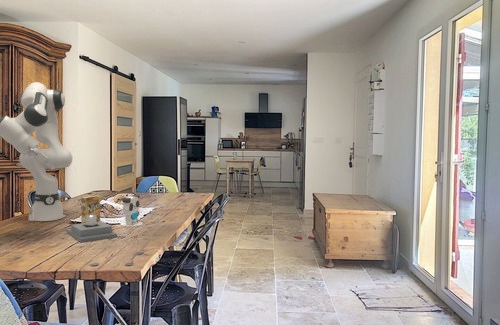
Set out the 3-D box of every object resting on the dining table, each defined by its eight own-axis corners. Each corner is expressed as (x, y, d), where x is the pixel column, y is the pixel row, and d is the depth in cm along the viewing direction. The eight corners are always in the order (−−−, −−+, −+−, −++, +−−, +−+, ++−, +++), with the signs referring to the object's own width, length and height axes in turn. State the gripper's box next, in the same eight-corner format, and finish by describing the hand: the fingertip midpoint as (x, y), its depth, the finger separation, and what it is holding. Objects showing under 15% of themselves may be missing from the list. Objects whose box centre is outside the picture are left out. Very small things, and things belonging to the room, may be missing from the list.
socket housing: (66, 232, 187) (66, 223, 187) (100, 228, 197) (100, 219, 197) (80, 242, 170) (80, 232, 170) (117, 237, 180) (117, 227, 180)
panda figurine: (135, 227, 201) (135, 198, 200) (115, 226, 203) (115, 197, 202) (146, 222, 212) (146, 195, 211) (127, 221, 215) (127, 194, 214)
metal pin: (85, 231, 184) (85, 214, 184) (94, 230, 187) (94, 213, 186) (88, 233, 181) (88, 216, 180) (97, 232, 184) (97, 215, 183)
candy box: (86, 227, 198) (86, 197, 197) (80, 226, 200) (80, 197, 199) (100, 224, 206) (100, 195, 205) (95, 223, 208) (95, 195, 207)
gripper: (34, 142, 169) (60, 164, 174) (34, 141, 187) (57, 161, 192) (23, 152, 167) (49, 174, 173) (23, 150, 185) (47, 170, 190)
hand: (53, 167), depth 182 cm, fingers open, 8 cm apart
